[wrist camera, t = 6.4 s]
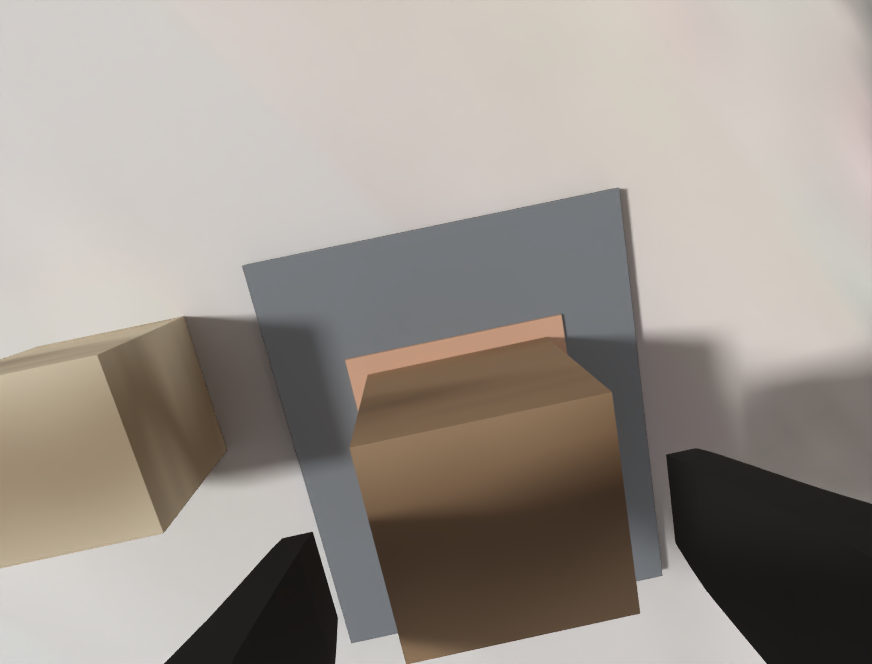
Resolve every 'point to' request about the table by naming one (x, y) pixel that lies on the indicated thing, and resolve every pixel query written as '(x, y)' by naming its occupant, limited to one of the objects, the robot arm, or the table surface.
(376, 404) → the walnut block
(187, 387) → the beech block
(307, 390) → the grey flat slab
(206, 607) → the table surface
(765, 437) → the table surface
